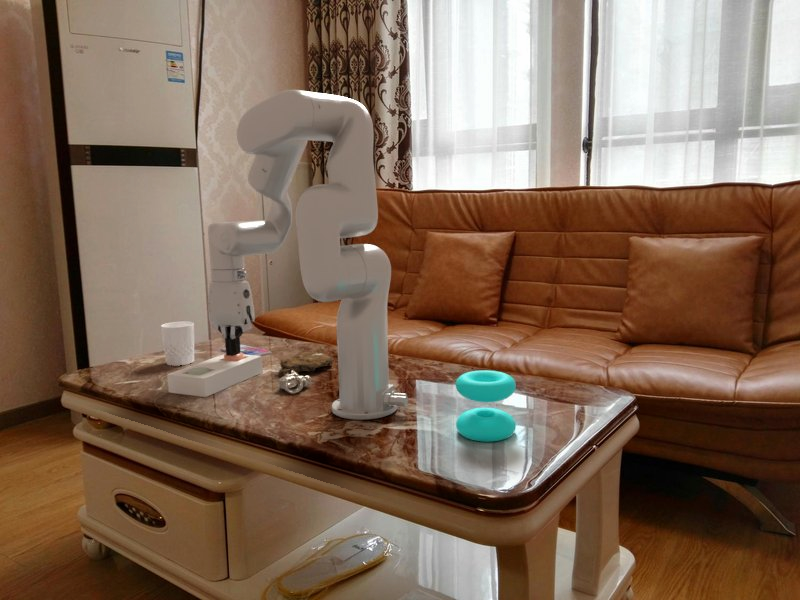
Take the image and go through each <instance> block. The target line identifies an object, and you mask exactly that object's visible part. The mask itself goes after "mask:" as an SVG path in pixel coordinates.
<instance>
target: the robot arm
mask: <svg viewBox="0 0 800 600" xmlns="http://www.w3.org/2000/svg"><path fill="white" fill-rule="evenodd" d="M236 129H237V130H236V140H237V143H238V145H239V148H240V149H241V150H242V151H244V152H245V153H246V154H249V155H254V159H253V162H252V163H251V166H250V169H249V171H248V174H247V181H248V184H249V185H250V187H251V188H252V189H253V190H255V191H256V192H257V193H258V194H260V195H261V196H264V197H265V198H268V199H270V200H271V204H270V208H269V211H268V213H267V216H266V217H265V219H262V220H261V219H259V220H243V221H219V222H218V221H215V222H212V223H210V224H209V225H208V228H207V237H208V239H207V240H208V251H209V266H210V278H211V279H210V280H211V282H209V287H208V296H207V298H208V300H207V303H208V305H207V308H208V309H207V310H208V319H209V323H211V325H210V326H211V328H212V329H215V330H216V331H219V333H220V334H221V337H222V339H224V343H225V346H224V348H225V347H226V352H225V354H226V355H230V356H233V355H236V354H239V353H240V345H241V337H242V336H243V334H244V332H249V331H252V329H253V325H252V323H254V322H255V319H256V318H255V317H256V316H255V314H256V313H255V305H254V299H253V293H252V288H251V285H250V283H249V281H246V278H248V277H249V272H248V271H246V269H245V257H247V256H248V257H249V256H253V255H255V256H256V255H265V254H273V253H274V252H277V250H279V249H280V248H281V247H282V245H283V243H284V242H285V240H286V238H287V236H288V233H289V231H290V229H291V227H292V223H293V206H292V201H291V199H290V196H289V193H288V190H289V187H290V185H291V183H292V180H293V178H294V176H295V173H296V171H297V168H298V166H299V164H300V161H301V159H302V157H303V154H304V152H305V150H306V147H307V144H308V141H312V142H313V141H314V142H331V143H333V144H332V146H331V148H330V150H329V153H328V156H327V161H326V162H327V163H326V170H327V176H328V177H327V178H328V179H327V182H328V183H327V184H326V183H325V184H324V183H322V184H321V183H320V184H316V185H314V184H313V185H312V186H309V187H308V188H306V189H305V190H304V191H303V192H302V193H301V195H300V196H299V199H298V201H297V205H296V208H295V229H296V231H295V232H296V240H297V246H298V247H297V248H298V257H299V258H298V259H299V266H300V267H299V268H300V274H301V281H302V283H303V286H304V288H305V291H306V292H307V294H308V295H309V296H310V297H311V298H312V299H314V300H315V301H318V302H321V303H322V302H323V303H328V302H335V301H340V300H341V301H340V304H339V307H338V309H337V313H336V342H337V345H336V347H337V348H336V349H337V366H338V367H337V368H338V391H339V393H338V395H339V398H338V399H336V400H334V401H333V402H332V404H331V411H332V413H333V414H334V415H335V416H337V417H340V418H342V419H343V418H344V419H348V420H357V421H358V420H360V421H361V420H374V419H381V418H384V417H386V416H389V415H390V416H391V415H392V414H393V413H395V412H396V411H397V410H398V407H401V408H407V407H408V404H409V397H408V395H407V393H402V392H396V391H395V385H394V384H390V379H389V378H390V374H389V338H388V335H389V334H388V301H389V294H390V293H389V291H390V286H391V278H392V265H391V261H390V258H389V257H388V255H387V253H386V252H385V251H384V250H383V249H381V248H380V247H378V246H376V245H374V244H368V243H355V244H347V245H346V244H345V245H341V241H340V240H341V239H347V238H348V239H349V238H355V237H361V236H366V235H368V234H370V233H372V232H373V231H374V230H375V228H376V227H377V224H378V221H379V220H378V219H379V211H378V210H379V209H378V208H379V207H378V198H377V197H378V196H377V184H376V174H375V166H374V137H375V135H374V124H373V119H372V116H371V114H370V113H369V111H368V109H367V108H366V107H365V106H364V105H363V104H362V103H361V102H359V101H357V100H354V99H352V98H348V97H346V96H341V95H337V94H329V93H324V92H323V93H322V92H315V91H314V92H313V91H307V90H301V89H285V90H282V91H279V92H277V93H275V94H273V95H272V96H269V97H267V99H265V100H264V99H263V101H261V102H259V103H257V104H255V105H254V106H252V107H250V108H249V109H247V111H246V112H245V113H243V115H242V116H241V118H240V120H239V121H238V125H237V128H236Z"/></svg>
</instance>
